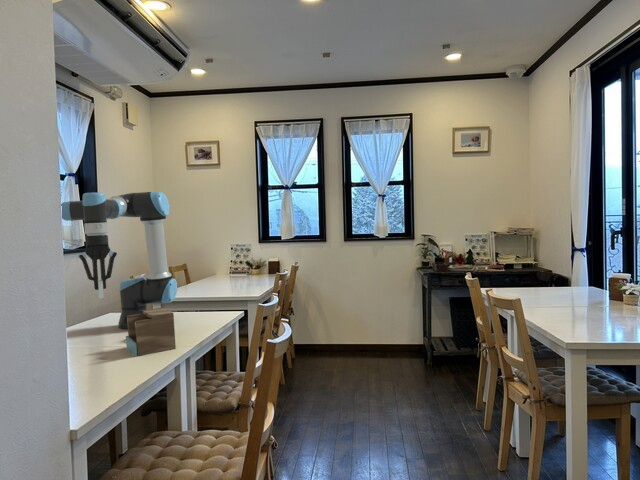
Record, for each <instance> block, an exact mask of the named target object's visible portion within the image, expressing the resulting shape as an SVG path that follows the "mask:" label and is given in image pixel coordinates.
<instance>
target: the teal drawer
mask: <svg viewBox="0 0 640 480" xmlns="http://www.w3.org/2000/svg"><path fill="white" fill-rule="evenodd" d="M125 343H126V345H125V346H126V350H127V351H128V352H129V353H130V354H131V355H133V357H138V356H137V342H135V341H133V340H132V339H131V338H130V337H128V335H127V336H125Z"/></svg>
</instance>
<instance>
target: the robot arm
mask: <svg viewBox="0 0 640 480" xmlns="http://www.w3.org/2000/svg"><path fill="white" fill-rule="evenodd" d="M60 205H61V206H62V218H61V219H62V220H64V221H65V222H66V221H67V222H69V221H71V222H73V221H83V223H84V226H83V227H84V234H85V235H86V236H84V237H85V240H84V241H85V249H84V252H83V253H81V254H78V256H77V257H78V258H79V259H80V260H81V263H82V265H83V268H84V270H85V274H86V276H87V278H88V279H87V280H89V281H93V285H94V286H93V287H94V288H93V289H94V290H95V291H97V297H98V299H99V300H100V299H105V296H104V295H105V294H104V290H106V288H107V280H108V279H110V278H111V277H112V272H113V267H114V262H115V258H116V256H117V255H118V253H117V252H115V251H113V250H111V248H110V246H109V235H108V233H109V232H108V222H107V220H114V219H118V218H120V217H123V218H139V219H140V221H139V222H141V223H142V224H143V227H144V235H145V236H144V237H145V246H146V253H147V254H146V255H147V256H146V257H147V264H148V272H149V273H148V274H147V276H146V277H145V276H140V277H134V278H130V279H125V280H123V281H120V284H119V294H120V307H121V309H120V310H121V311H120V316H119V320H118V328H119V329H121V330H123V329H125V330H128V325H127V316H130V315H136V314H143V312H142V311H143V310H148V304H150V305H151V304H170V303H172V302H173V301H174V300H175V298H176V296H177V292H178V282H177V280H176V278H173V276H172V273H171V272H169V268H168V259H167V258H168V257H167V246H166V238H165V237H166V236H165V229H164V228H165V227H164V222H166V220H167V216H169V214H170V209H171V207H170V201H169V199H168V197H167V196H166V195H165V193H164V192H162V191H146V192H142V191H140V192H130V193H124V194H120V195H114V196H111V197H109V198H106V196H105V193H104V192H85V193H83V194H82V200H72V201H71V200H69V201H64V202H63V201H62V203H61V204H60ZM108 255H109V260H108V265H107V269H106V260H105V259H106V258H107V256H108ZM87 256H88V258H90V260H91V263H92V273H93V274H92V273H91V270H90V266H89V263H88V261H87ZM98 260H99V266H100V267H99V269H100V270H99V271H100V279H99V271H98Z"/></svg>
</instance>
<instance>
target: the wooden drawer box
mask: <svg viewBox="0 0 640 480" xmlns="http://www.w3.org/2000/svg"><path fill="white" fill-rule="evenodd" d="M142 312H143V314H136V315H130V316H127V325H128V329H127V336H128V337H130V338H131V339H132V340H133V341H135V342H137V356H136V357H142V356H145V355H151V354H156V353H161V352H166V351H172V350H175V349H177V347H176V333H175V316H174V315H175V314H174V312H173V311H171V310H168V309H166V308H164V307H158V308H156V307H155V308H150V309H147V310H143V311H142Z"/></svg>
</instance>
